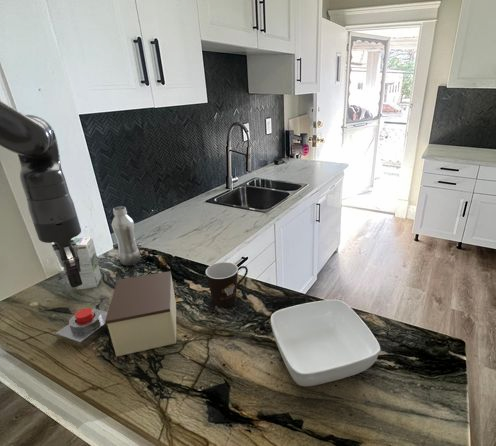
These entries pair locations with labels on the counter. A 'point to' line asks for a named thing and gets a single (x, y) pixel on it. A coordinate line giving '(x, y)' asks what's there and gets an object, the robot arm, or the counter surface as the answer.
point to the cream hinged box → (145, 331)
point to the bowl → (323, 341)
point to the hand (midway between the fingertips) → (76, 285)
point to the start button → (84, 316)
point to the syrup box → (87, 263)
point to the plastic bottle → (125, 237)
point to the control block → (83, 330)
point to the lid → (140, 297)
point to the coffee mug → (223, 282)
